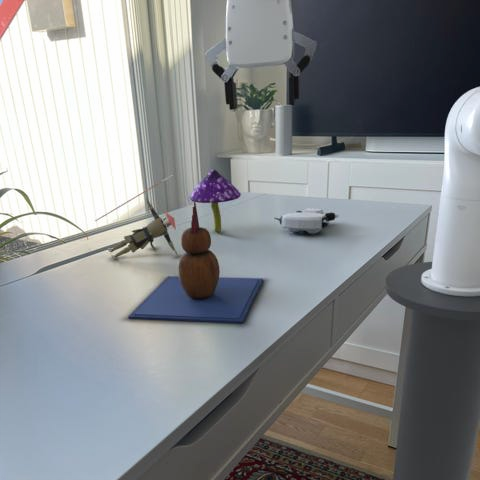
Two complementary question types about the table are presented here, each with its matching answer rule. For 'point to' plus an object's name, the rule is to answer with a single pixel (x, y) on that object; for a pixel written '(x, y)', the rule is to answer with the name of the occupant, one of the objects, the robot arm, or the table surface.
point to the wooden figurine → (198, 261)
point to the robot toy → (306, 220)
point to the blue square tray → (200, 302)
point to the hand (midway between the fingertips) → (262, 107)
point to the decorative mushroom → (214, 194)
